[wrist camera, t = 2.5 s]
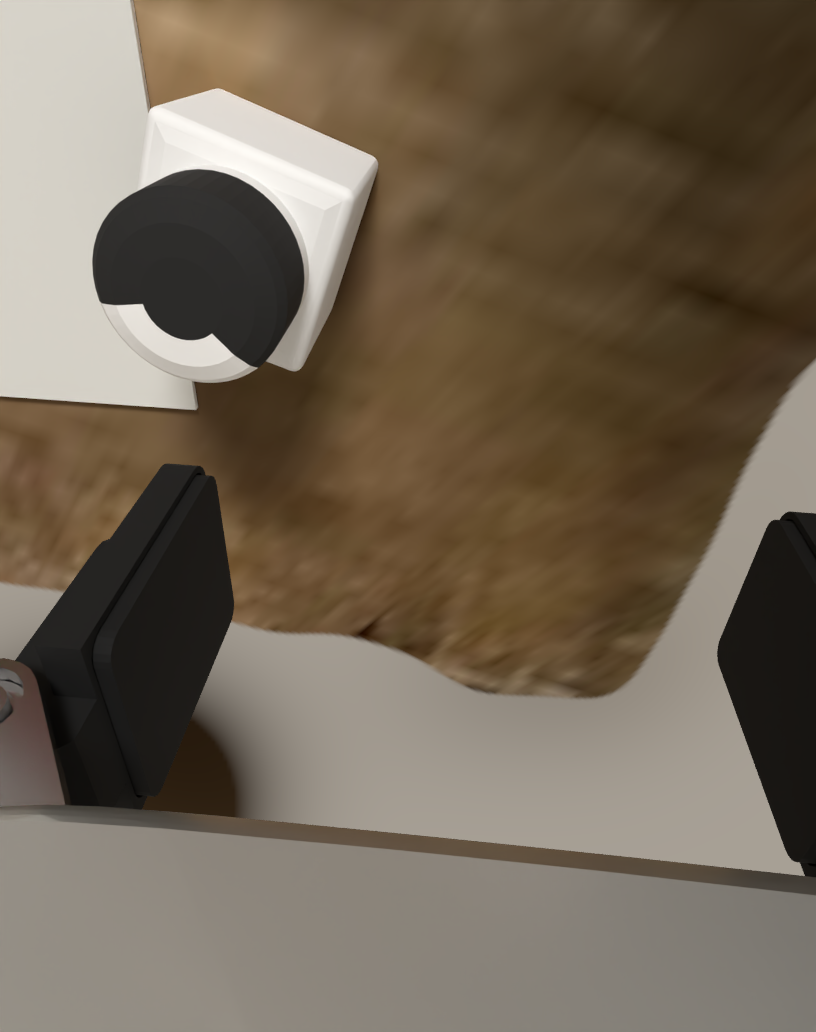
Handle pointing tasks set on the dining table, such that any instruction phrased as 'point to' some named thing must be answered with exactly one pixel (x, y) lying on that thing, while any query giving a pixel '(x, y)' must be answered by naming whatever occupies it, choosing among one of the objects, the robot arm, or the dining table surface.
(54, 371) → the mat
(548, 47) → the dining table surface
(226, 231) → the medicine bottle
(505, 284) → the dining table surface
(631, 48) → the dining table surface
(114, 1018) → the robot arm
